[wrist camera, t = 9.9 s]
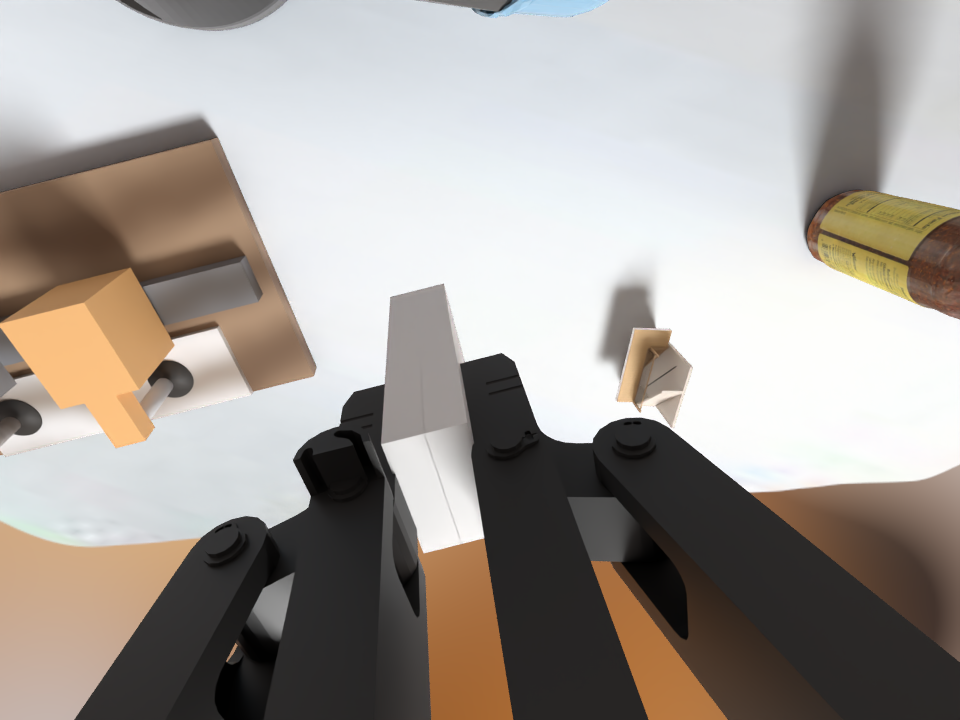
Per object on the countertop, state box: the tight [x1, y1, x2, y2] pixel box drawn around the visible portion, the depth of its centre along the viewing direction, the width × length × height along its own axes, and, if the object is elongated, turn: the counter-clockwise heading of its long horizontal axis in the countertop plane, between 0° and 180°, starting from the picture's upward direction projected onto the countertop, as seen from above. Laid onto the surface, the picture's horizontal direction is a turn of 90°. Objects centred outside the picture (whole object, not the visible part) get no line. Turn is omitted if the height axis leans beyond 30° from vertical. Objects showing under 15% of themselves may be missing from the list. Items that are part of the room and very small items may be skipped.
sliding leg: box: [0, 268, 175, 448], centre depth 36 cm, size 10×5×6 cm, turn 12°
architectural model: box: [616, 328, 693, 428], centre depth 45 cm, size 3×7×8 cm, turn 174°
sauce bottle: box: [807, 190, 960, 319], centre depth 36 cm, size 7×6×20 cm
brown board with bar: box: [0, 137, 316, 457], centre depth 36 cm, size 18×26×9 cm
